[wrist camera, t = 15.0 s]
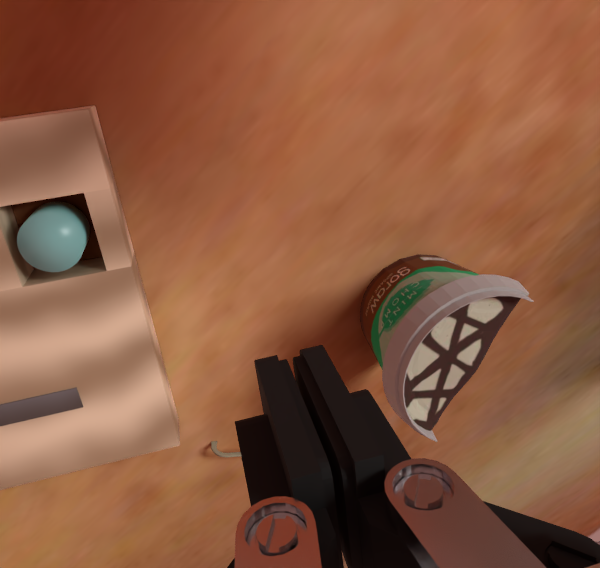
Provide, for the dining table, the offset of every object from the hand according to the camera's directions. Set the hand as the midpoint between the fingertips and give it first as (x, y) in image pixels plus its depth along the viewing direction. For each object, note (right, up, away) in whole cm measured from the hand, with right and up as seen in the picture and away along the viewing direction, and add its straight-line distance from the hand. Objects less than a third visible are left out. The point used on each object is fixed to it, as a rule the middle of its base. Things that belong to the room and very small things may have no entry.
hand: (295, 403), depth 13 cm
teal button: (-15, +6, +21) cm, 27 cm away
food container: (+7, +2, +29) cm, 30 cm away
